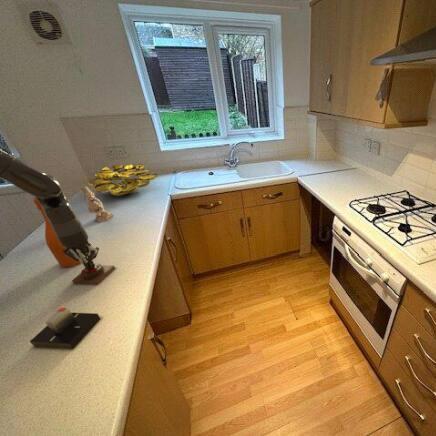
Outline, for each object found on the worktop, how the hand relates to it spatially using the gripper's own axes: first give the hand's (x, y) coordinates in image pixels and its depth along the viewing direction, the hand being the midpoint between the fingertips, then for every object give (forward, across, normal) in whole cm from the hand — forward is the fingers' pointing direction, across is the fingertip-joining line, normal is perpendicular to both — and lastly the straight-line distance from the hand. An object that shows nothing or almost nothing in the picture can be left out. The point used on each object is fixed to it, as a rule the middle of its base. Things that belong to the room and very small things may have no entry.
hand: (91, 268), depth 92 cm
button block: (+4, 0, 0) cm, 4 cm away
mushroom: (+4, -48, +87) cm, 100 cm away
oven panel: (+4, +12, -24) cm, 27 cm away
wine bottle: (+4, -17, +9) cm, 20 cm away
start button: (+2, 0, 0) cm, 2 cm away
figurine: (+4, -34, +46) cm, 57 cm away
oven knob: (+1, +12, -24) cm, 27 cm away
